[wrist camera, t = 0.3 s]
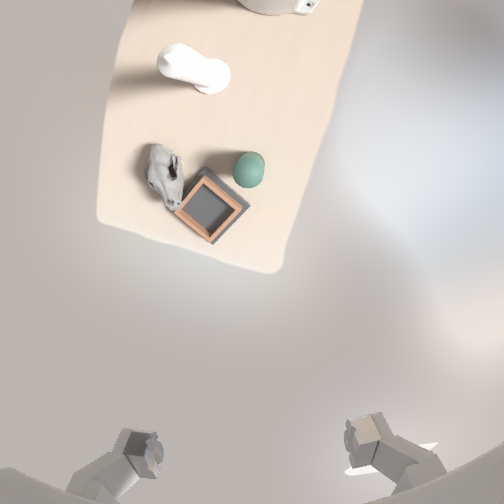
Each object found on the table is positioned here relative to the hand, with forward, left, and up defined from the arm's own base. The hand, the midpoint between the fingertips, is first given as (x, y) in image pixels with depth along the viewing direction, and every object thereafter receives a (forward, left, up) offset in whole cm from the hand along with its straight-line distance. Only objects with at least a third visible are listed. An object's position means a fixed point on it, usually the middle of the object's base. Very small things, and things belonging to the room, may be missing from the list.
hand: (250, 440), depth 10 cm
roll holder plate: (+14, -4, -50) cm, 52 cm away
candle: (-6, -20, -50) cm, 54 cm away
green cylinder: (+2, -3, -50) cm, 50 cm away
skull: (+14, -14, -50) cm, 54 cm away
